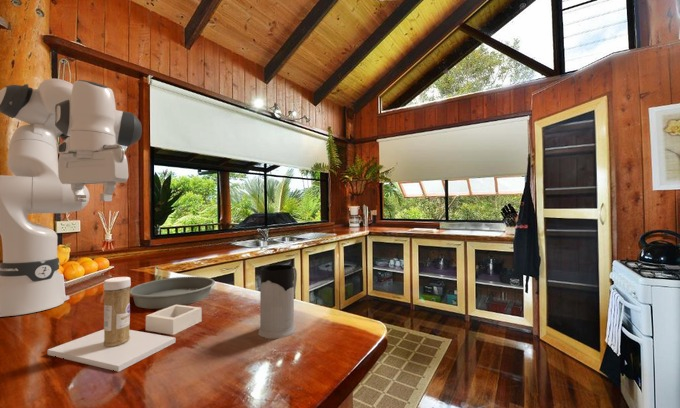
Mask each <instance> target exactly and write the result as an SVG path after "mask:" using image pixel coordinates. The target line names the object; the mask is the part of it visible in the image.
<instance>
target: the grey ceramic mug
mask: <svg viewBox="0 0 680 408" xmlns="http://www.w3.org/2000/svg"><path fill="white" fill-rule="evenodd" d="M260 271H261V272H260V273H261V274H260V276H261V277H260V278H261V279H260V282H261V283H260V286H259V287H260V288H259V289H260V290H259V291H260V299H259V300H260V305H259V306H260V308H259V309H260V311H259V312H260V313H259V314H260V315H259V317H260V324H259V325H260V326H259V329H258V335H259V336H260V337H261V338H264V339H272V340H273V339H274V340H275V339H282V338H286V337H289V336H291V335H293V334H294V333H295V332H296V330H297V329H296V326H295V320H294V319H295V316H294V315H295V314H294V313H295V312H294V311H295V308H294V307H295V304H294V303H295V302H294V301H295V299H294V298H295V294H296V293H295V292H296V287H297V279H298V277H297V276H298V273H297V268H296V267H295V266H293V265H288V264H271V265H266V266H263V267H261V268H260Z"/></svg>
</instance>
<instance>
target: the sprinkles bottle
mask: <svg viewBox="0 0 680 408" xmlns="http://www.w3.org/2000/svg"><path fill="white" fill-rule="evenodd" d="M131 285H132V283H131V277H130V276H118V277H117V276H116V277H112V278H107V279H105V280H104V281H103V292H104V303H103V329H104V343H103V344H104V346H108V347H111V346H118V345H121V344H123V343H126V342H127V341H129V339H130V336H129V330H130V323H131V322H130V321H131V318H130V317H131V304H130V297H131V295H130V289H131Z"/></svg>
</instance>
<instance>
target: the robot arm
mask: <svg viewBox="0 0 680 408" xmlns="http://www.w3.org/2000/svg"><path fill="white" fill-rule="evenodd" d="M116 105H117V104H116V100H115V93H114V91H113V89H111V88H110V87H108V86H107V85H105V84H101V83H98V82H93V81H92V80H91V81H90V80H84V79H83V80H82V79H79V80H75V81H74V82H73V83H72V82H70V81H67V80H64V79H60V78H46V79H45V80H43V81H41V82H40V83H39V84H38V87H37V88H33V87H31V86H30V87H29V84H27V83H26V84H25V83H24V84H23V85H22V84H21V85H20V84H11V85H10V84H9V85H6V86H4V87H3V88H2V89H0V113H2V115H4V116H7V117H9V118H11V119H16V120H19V121H21V122H23V123H26V124H23V125H21V126H19V127H17V128H16V129H15V130H14V132H13V133H12V136H11V138H10V142H9V146H8V151H7V163H6V164H7V168H8V170H9V171H10V172H11V173H12V174H13V175H5V174H4V175H3V174H1V175H0V238H1V245H2V262H1V263H0V318H2V317H4V318H5V317H10V316H12V317H13V316H22V315H27V314H33V313H36V312H37V313H38V312H41V311H45V310H49V309H50V310H51V309H53V308H57V307H59V306H61V305H63V304H64V303H65V302H66V301H68V300H70V295H68V294H67V295H66V288H65V278H64V274H62V273H60V272H59V269H60V257H58V234H57V232H56V231H55V230H53V229H52V228H49V227H48V226H45V225H42V224H38V223H35V222H32V221H31V220H30V219H29V217H28V216H29V215H31V214H66V213H73V212H79V211H82V210H84V209H85V207H87V205H88V204H89V201H90V190H89V188H88V187H87V186H86V185H97V184H98V185H102V187H103V191H102V193H100V195H99V197H100V198H99V199H100V201H101V202H112V201H113V194H114V192H115V190H116V188H117V184H119V183H126V182H127V181H128V179H129V165H128V164H129V163H128V158H127V155H126V154H125V148H123V147H127V148H129V147H131V146H132V145H134V144H136V143H137V142H138V141H140V140H141V137H142V135H143V134H142V133H143V127H142V123H141V121H140V120H139V118H138V117H137V116H136V115H135V114H134V113H133V112H129V111H124V110H118V109H117V108H116ZM58 138H60V139H61V140H62V142H61V143H59V144H57V142H58ZM122 146H123V147H122ZM58 154H60V155H59V157H58Z"/></svg>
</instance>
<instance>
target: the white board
mask: <svg viewBox="0 0 680 408" xmlns="http://www.w3.org/2000/svg"><path fill="white" fill-rule="evenodd" d="M129 336H130V339H129V341H127V342H126V343H123V344H121V345H118V346H111V347H108V346H104V344H103V343H104V328H103V329H101V330H98V331H95V332H92V333H89V334H87V335H85V336H82V337H79V338H75V339H73V340H71V341H68V342H65V343H63V344H60V345H56V346H55V347H52V348H49V349H47V356H52V357H55V356H56V357H57V358H60V359H63V358H64V360H68V361H72V362H76V363H81V364H85V365H89V366H92V367H97V368H102V369H104V370H110V371H113V370H114V371H115V372H119V373H120V372H121V371H123V370H125V369H127V368H128V367H130V366H132V365H134V364H137V363H138V362H140V361H142V360H144V359H146V358H148V357H150V356H152V355H154V354H155V353H157V352H159V351H161V350H164V349H165V348H167V347H169V346H172V345H173V344H176V337H174V336H173V337H172V336H168V335H161V334H156V333H150V332H146V331H145V332H144V331H138V330H133V329H129Z"/></svg>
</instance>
